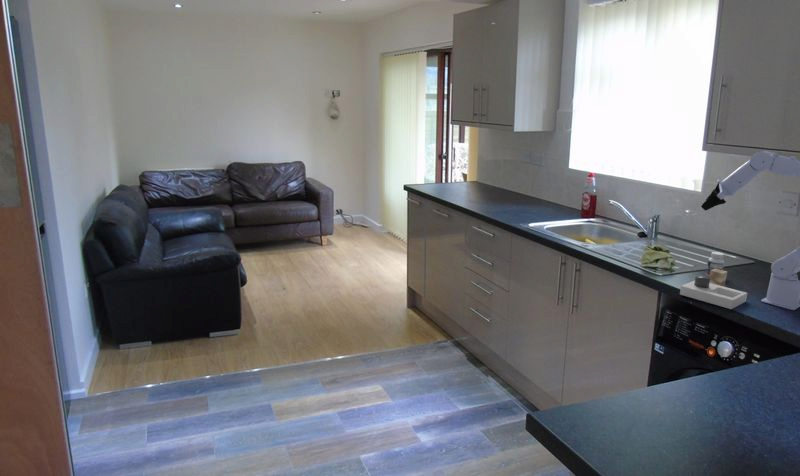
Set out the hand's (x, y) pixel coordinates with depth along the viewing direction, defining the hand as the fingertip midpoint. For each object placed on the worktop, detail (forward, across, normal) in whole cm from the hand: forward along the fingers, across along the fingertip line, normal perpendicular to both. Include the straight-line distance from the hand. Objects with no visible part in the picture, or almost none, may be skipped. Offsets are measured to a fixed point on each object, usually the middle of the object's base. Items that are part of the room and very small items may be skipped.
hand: (705, 205), depth 198 cm
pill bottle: (+20, -6, +23) cm, 31 cm away
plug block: (+16, +8, +23) cm, 29 cm away
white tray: (+13, +21, +22) cm, 33 cm away
